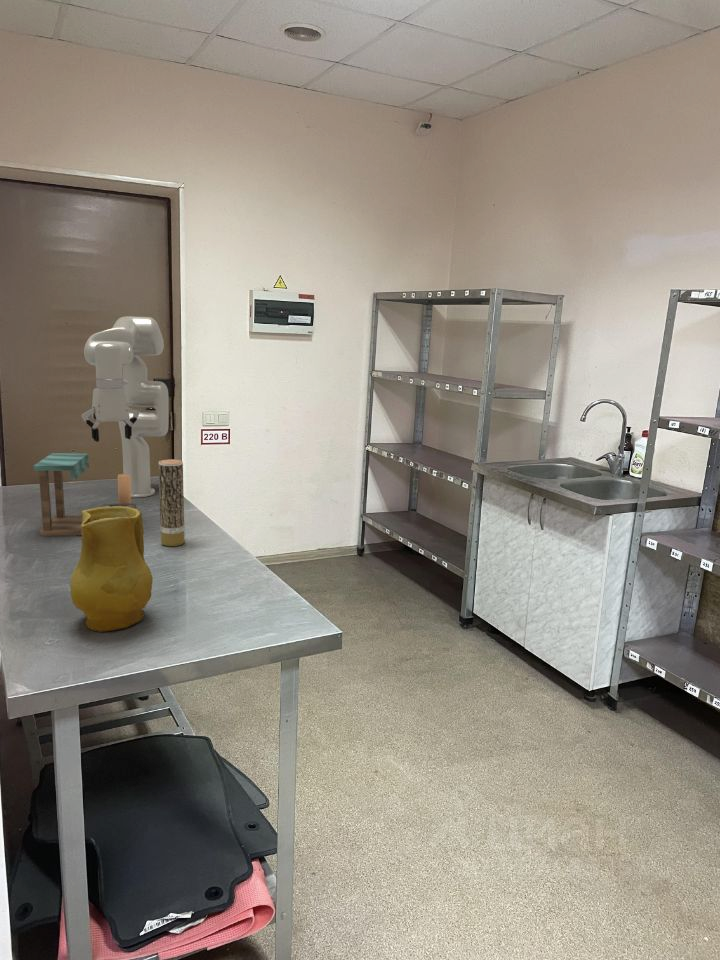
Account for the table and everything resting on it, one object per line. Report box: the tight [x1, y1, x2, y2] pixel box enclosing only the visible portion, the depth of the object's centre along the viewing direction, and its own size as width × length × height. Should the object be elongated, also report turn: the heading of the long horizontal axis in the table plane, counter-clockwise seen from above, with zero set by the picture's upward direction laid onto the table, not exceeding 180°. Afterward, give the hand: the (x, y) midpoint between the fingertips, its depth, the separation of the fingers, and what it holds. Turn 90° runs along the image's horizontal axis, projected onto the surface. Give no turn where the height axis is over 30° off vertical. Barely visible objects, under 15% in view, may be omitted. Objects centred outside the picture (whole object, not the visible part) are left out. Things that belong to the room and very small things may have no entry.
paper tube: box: [158, 459, 185, 547], centre depth 200 cm, size 7×7×25 cm
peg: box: [117, 473, 132, 504], centre depth 226 cm, size 4×4×14 cm
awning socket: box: [33, 452, 137, 537], centre depth 212 cm, size 18×27×22 cm, turn 98°
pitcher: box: [69, 506, 153, 633], centre depth 149 cm, size 17×19×25 cm
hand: (112, 439), depth 210 cm, fingers open, 9 cm apart
